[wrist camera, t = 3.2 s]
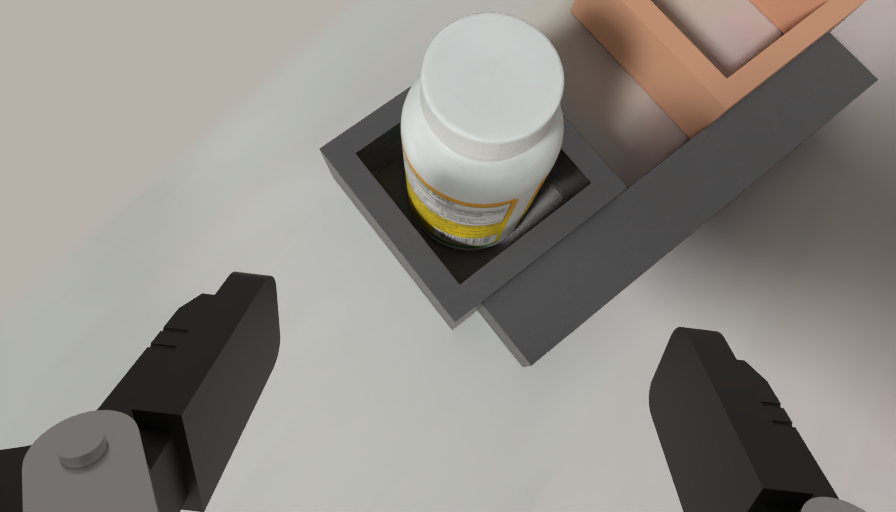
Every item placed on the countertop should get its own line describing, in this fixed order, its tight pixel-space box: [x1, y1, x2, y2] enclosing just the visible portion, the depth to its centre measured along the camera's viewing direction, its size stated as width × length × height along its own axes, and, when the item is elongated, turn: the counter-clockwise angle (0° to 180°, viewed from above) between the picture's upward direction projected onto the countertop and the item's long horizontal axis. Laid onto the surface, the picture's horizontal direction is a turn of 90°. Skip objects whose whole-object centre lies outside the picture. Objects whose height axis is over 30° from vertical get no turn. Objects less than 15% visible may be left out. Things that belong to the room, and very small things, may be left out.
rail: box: [320, 32, 878, 367], centre depth 23 cm, size 21×12×3 cm, turn 128°
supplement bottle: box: [401, 13, 564, 250], centre depth 19 cm, size 5×5×10 cm
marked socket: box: [571, 0, 866, 140], centre depth 25 cm, size 9×9×3 cm
